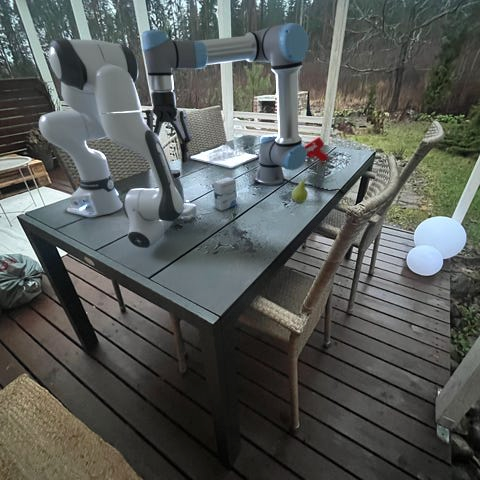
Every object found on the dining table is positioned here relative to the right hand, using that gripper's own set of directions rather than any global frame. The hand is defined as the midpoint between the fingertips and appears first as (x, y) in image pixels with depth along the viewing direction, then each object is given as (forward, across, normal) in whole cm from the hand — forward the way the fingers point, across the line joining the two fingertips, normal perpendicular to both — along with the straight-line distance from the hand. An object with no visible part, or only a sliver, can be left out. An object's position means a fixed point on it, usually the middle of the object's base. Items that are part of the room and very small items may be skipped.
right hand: (172, 160), depth 99 cm
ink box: (+23, -16, -12) cm, 30 cm away
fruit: (+23, -47, -24) cm, 57 cm away
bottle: (+23, 0, 0) cm, 23 cm away
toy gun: (+23, -50, -87) cm, 103 cm away
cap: (+4, 0, 0) cm, 4 cm away
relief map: (+23, +5, -82) cm, 85 cm away
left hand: (+16, 0, +1) cm, 16 cm away
